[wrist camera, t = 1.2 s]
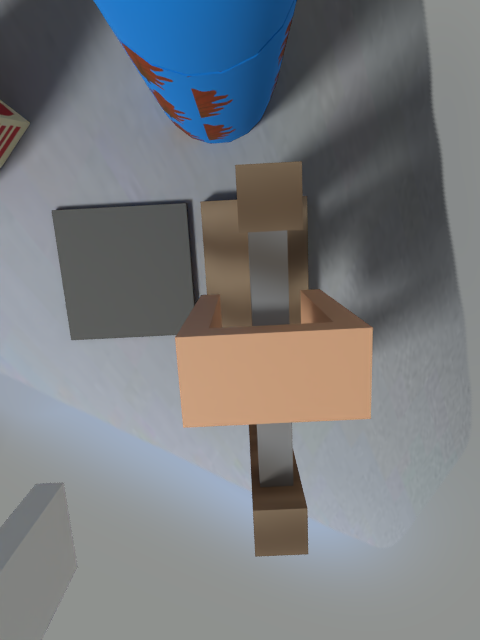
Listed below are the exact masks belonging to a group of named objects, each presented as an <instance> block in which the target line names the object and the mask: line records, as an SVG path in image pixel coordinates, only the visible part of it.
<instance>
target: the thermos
mask: <svg viewBox="0 0 480 640" xmlns="http://www.w3.org/2000/svg"><path fill="white" fill-rule="evenodd" d="M296 1H297V0H94V2H95V4H96V5H97V7H98V8H99V10H100V11H101V13H102V15H103V16H104V18H105V19H106V21H107V23H108V24H109V26H110V27H111V29H112V30H113V32H114V34H115V35H116V37H117V38H118V40H119V41H120V43H121V45H122V46H123V48H124V49H125V51H126V53H127V54H128V56H129V57H130V59H131V60H132V62H133V64H134V65H135V67H136V68H137V70H138V71H139V73H140V75H141V76H142V78H143V79H144V81H145V83H146V84H147V86H148V87H149V89H150V90H151V92H152V94H153V95H154V97H155V98H156V100H157V101H158V103H159V104H160V106H161V107H162V109H163V110H164V112H165V113H166V115H167V116H168V117H169V118H170V119H171V121H172V122H173V123H174V124H175V125H176V126H177V127H178V128H180V129H181V130H182V131H184V132H185V133H186V134H188V135H189V136H190V137H192V138H194V139H197V140H201V141H204V142H207V143H223V142H231V141H233V140H235V139H237V138H239V137H241V136H243V135H245V134H247V133H248V132H249V131H250V130H251V129H252V128H253V127H254V126H255V125H256V124H257V123H258V122H259V121H260V120H261V118H262V116H263V114H264V112H265V110H266V107H267V105H268V103H269V101H270V98H271V96H272V93H273V91H274V89H275V86H276V83H277V79H278V75H279V71H280V67H281V63H282V58H283V54H284V50H285V46H286V42H287V38H288V34H289V30H290V26H291V22H292V18H293V14H294V10H295V5H296Z"/></svg>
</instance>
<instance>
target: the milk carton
mask: <svg viewBox="0 0 480 640" xmlns="http://www.w3.org/2000/svg"><path fill="white" fill-rule="evenodd" d="M29 125H30V122H28V121H27V120H26V119H25V118H23V117H22V116H21V115H19V114H18V113H17V112H16V111H14V110H13V109H12V108H10V107H9V106H8V105H7V104H5V103H4V102H3V101H1V100H0V168H1V167H2V166H3V164H4V163H5V161H6V160H7V158H8V157H9V155H10V154H11V152H12V150H13V149H14V147H15V146H16V144H17V143H18V141H19V140H20V138H21V137H22V135H23V134H24V132H25V131H26V129H27V128H28V126H29Z"/></svg>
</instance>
